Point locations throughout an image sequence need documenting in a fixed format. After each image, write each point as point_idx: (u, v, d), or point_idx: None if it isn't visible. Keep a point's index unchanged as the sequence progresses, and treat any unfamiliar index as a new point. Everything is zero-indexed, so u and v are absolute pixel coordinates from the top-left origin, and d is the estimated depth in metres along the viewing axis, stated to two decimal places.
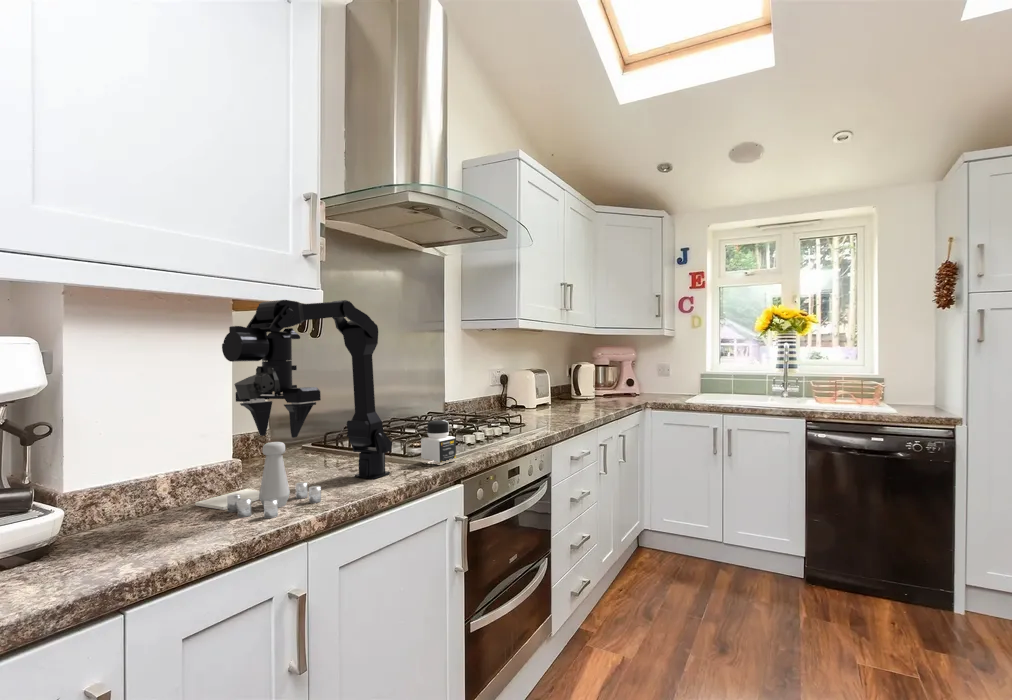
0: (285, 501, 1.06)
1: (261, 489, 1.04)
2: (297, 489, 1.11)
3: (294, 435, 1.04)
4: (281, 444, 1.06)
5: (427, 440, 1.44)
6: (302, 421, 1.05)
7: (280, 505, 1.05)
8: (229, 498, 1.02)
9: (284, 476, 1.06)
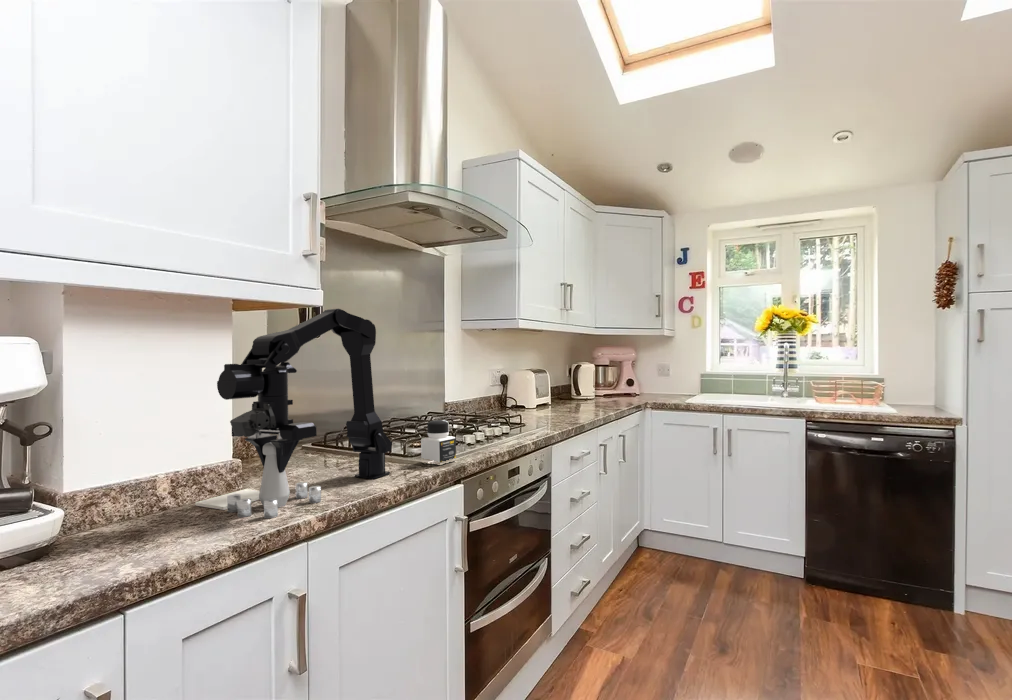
0: (285, 501, 1.06)
1: (261, 489, 1.04)
2: (297, 489, 1.11)
3: (281, 470, 1.05)
4: None
5: (427, 440, 1.44)
6: (289, 456, 1.06)
7: (280, 505, 1.05)
8: (229, 498, 1.02)
9: (284, 476, 1.06)
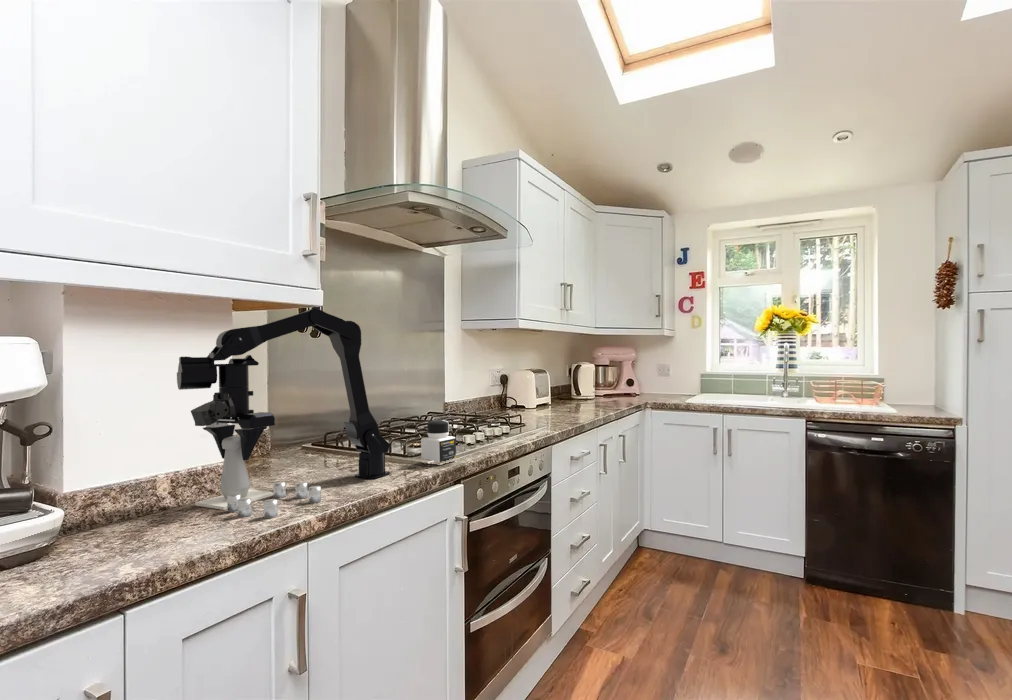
0: (245, 492, 1.11)
1: (222, 481, 1.09)
2: (297, 489, 1.11)
3: (245, 458, 1.09)
4: None
5: (427, 440, 1.44)
6: (253, 444, 1.10)
7: (241, 496, 1.10)
8: (229, 498, 1.02)
9: (244, 468, 1.11)
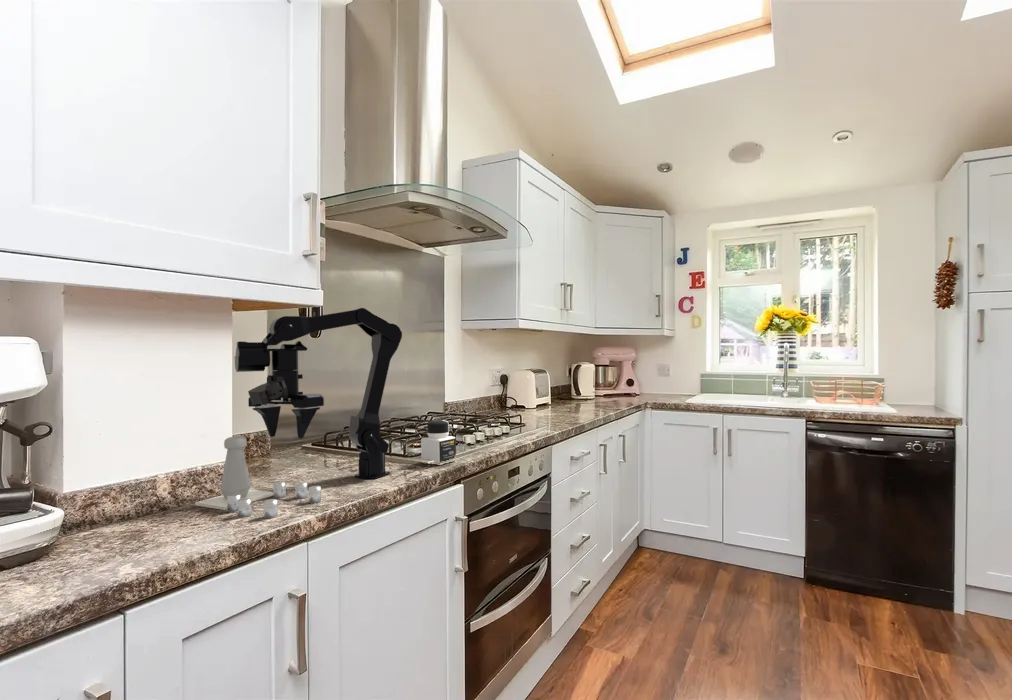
0: (246, 493, 1.11)
1: (222, 481, 1.09)
2: (297, 489, 1.11)
3: (300, 436, 1.18)
4: (242, 438, 1.11)
5: (427, 440, 1.44)
6: (307, 424, 1.19)
7: (241, 496, 1.10)
8: (229, 498, 1.02)
9: (245, 469, 1.11)
